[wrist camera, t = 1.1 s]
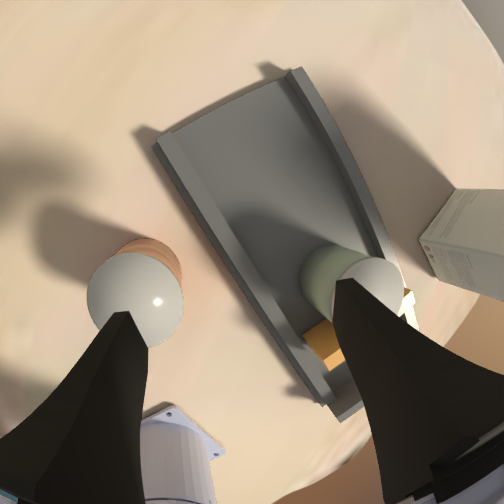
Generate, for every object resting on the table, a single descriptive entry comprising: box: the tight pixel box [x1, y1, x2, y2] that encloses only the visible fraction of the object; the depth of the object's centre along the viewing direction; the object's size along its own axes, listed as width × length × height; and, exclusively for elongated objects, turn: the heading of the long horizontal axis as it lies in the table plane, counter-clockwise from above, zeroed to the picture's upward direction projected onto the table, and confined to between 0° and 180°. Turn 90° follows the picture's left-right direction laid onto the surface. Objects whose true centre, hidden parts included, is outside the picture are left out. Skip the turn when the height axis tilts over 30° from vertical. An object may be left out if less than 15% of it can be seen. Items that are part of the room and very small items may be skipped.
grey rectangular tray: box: [151, 67, 419, 423], centre depth 21 cm, size 12×26×4 cm, turn 29°
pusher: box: [302, 287, 415, 371], centre depth 21 cm, size 8×1×5 cm, turn 119°
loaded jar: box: [299, 244, 404, 322], centre depth 20 cm, size 5×5×6 cm
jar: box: [87, 238, 183, 348], centre depth 17 cm, size 5×5×6 cm
